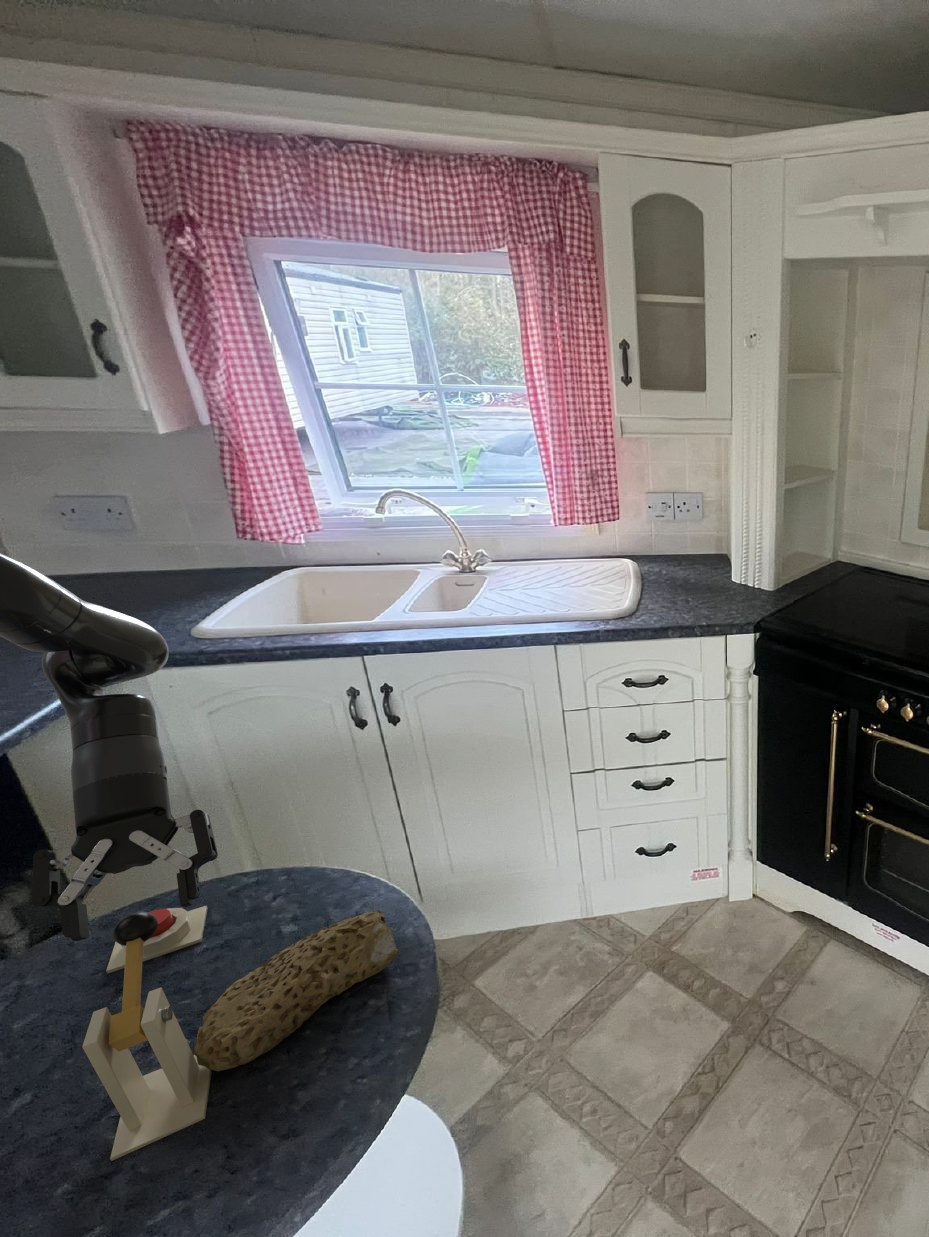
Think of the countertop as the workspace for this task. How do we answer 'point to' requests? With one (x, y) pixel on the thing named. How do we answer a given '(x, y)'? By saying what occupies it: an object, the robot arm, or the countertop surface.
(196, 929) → the button block
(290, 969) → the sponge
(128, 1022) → the lever
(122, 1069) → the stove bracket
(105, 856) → the robot arm
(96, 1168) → the countertop surface
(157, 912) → the button
